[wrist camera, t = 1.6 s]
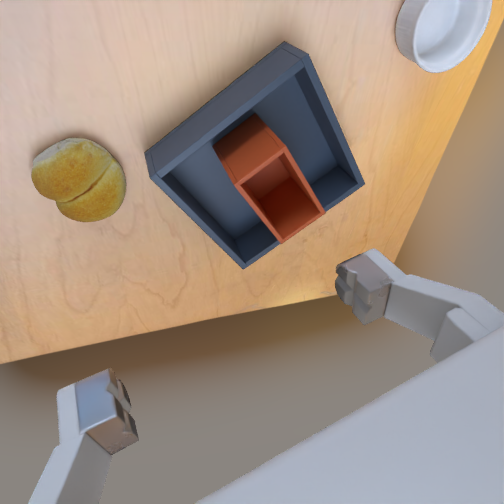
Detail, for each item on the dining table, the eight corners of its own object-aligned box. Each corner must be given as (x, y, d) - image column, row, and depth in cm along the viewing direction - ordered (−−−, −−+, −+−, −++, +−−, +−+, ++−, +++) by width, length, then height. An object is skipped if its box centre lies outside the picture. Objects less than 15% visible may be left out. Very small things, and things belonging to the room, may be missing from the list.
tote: (255, 112, 40) (286, 145, 33) (293, 175, 46) (326, 213, 40) (211, 146, 41) (233, 185, 34) (255, 202, 47) (281, 244, 41)
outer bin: (284, 40, 37) (308, 53, 33) (342, 163, 49) (365, 184, 44) (143, 152, 39) (149, 177, 35) (231, 243, 51) (243, 269, 47)
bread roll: (81, 223, 42) (79, 244, 39) (18, 162, 36) (11, 182, 33) (142, 189, 42) (145, 207, 39) (89, 121, 36) (88, 137, 33)
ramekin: (431, 71, 44) (456, 81, 41) (375, 52, 41) (398, 61, 37) (476, -15, 39) (509, -12, 36) (418, -46, 36) (449, -45, 32)
